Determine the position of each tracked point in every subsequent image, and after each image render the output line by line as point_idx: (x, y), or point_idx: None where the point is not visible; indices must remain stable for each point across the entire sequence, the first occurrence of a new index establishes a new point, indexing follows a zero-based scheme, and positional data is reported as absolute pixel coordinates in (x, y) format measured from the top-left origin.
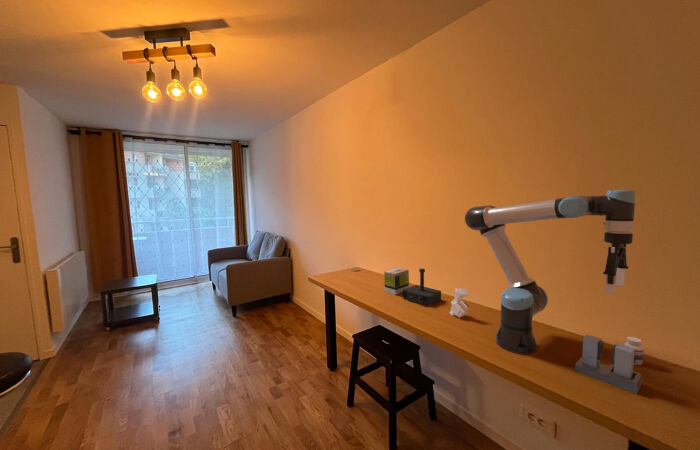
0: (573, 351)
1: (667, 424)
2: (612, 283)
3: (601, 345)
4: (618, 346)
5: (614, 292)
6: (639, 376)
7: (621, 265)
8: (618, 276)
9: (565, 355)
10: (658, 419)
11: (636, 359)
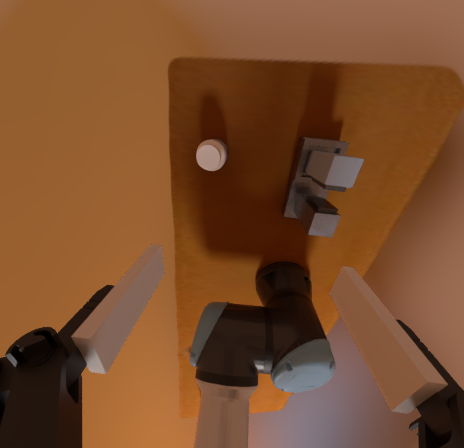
0: (247, 225)
1: (412, 100)
2: (408, 328)
3: (331, 207)
4: (342, 183)
5: (354, 273)
6: (318, 140)
7: (67, 395)
8: (139, 300)
9: (270, 231)
10: (403, 112)
11: (226, 148)
